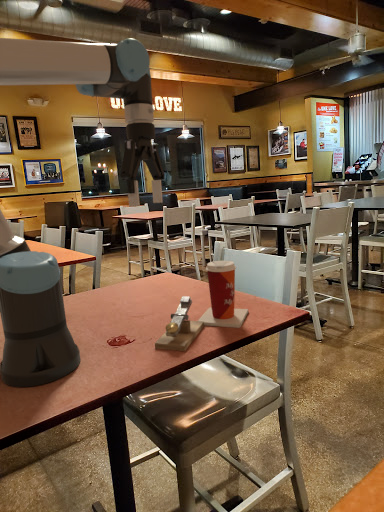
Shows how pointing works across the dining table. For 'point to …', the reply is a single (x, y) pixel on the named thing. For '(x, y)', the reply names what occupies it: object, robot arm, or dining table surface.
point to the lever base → (180, 336)
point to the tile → (231, 322)
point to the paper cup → (222, 288)
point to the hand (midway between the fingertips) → (147, 204)
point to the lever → (179, 317)
